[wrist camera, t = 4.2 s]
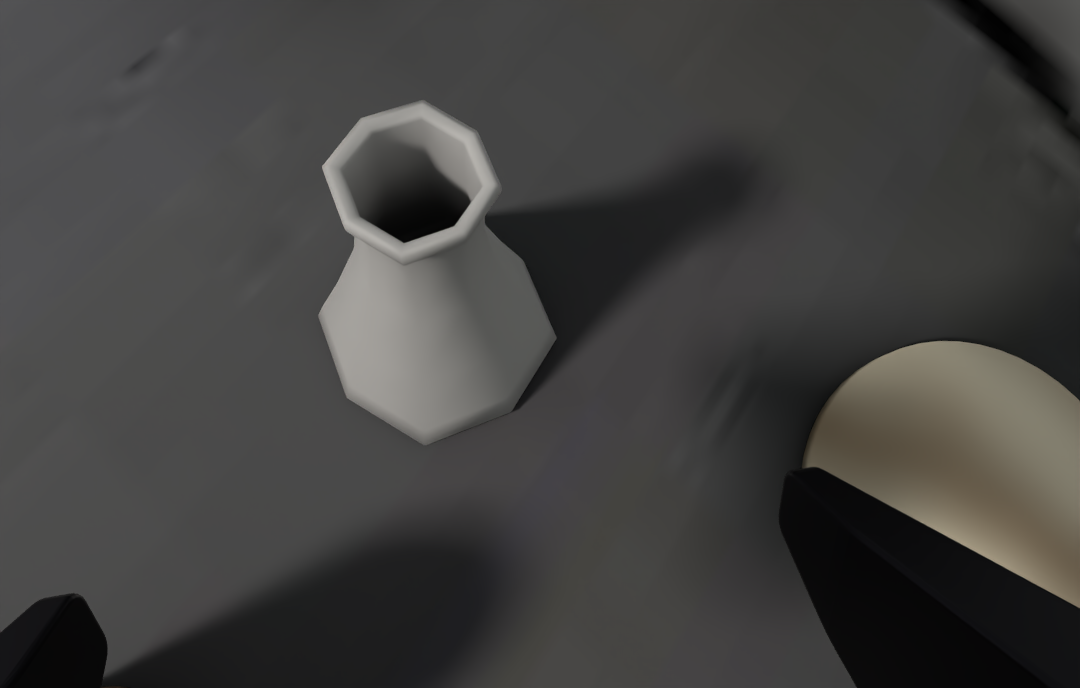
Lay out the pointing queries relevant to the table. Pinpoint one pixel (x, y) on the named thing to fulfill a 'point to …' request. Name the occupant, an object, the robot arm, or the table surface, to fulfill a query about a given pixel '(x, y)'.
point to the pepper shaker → (114, 687)
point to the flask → (427, 279)
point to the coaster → (965, 453)
